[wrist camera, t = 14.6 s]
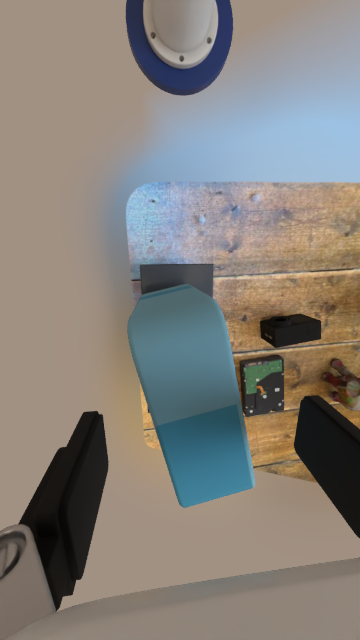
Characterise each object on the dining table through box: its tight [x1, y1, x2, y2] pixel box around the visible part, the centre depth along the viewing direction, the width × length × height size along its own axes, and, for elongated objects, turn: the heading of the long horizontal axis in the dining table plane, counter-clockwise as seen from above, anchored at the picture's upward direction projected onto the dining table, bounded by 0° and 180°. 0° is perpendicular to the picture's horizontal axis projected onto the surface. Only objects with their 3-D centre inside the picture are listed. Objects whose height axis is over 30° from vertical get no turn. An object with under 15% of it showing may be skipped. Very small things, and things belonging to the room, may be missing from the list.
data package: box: [128, 284, 255, 508], centre depth 17 cm, size 12×4×12 cm, turn 13°
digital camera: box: [260, 314, 321, 348], centre depth 49 cm, size 10×5×7 cm, turn 99°
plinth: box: [140, 264, 213, 413], centre depth 35 cm, size 16×7×27 cm, turn 1°
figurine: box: [323, 359, 360, 411], centre depth 51 cm, size 8×12×15 cm, turn 178°
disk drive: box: [240, 355, 284, 417], centre depth 55 cm, size 10×3×15 cm
